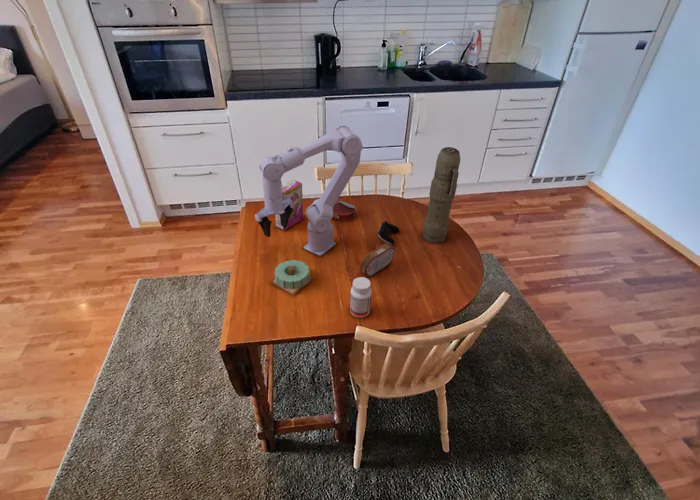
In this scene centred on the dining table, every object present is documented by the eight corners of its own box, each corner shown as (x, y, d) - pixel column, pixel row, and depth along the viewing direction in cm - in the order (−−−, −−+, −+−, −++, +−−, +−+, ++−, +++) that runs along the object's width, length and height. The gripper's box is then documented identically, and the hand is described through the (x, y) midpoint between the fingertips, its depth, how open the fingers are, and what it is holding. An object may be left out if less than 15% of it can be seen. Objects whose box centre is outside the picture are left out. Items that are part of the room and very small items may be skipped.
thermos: (434, 226, 157) (450, 141, 137) (452, 242, 149) (472, 154, 128) (415, 231, 154) (429, 145, 133) (433, 247, 146) (450, 158, 125)
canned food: (332, 221, 167) (329, 197, 165) (355, 218, 167) (352, 194, 166) (332, 223, 156) (329, 198, 154) (357, 220, 156) (354, 194, 155)
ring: (291, 263, 134) (290, 256, 132) (316, 275, 129) (315, 268, 127) (268, 279, 127) (267, 272, 125) (294, 293, 122) (293, 286, 120)
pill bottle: (359, 300, 122) (360, 272, 115) (374, 311, 119) (377, 282, 112) (345, 311, 118) (346, 282, 111) (360, 321, 115) (362, 293, 108)
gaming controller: (392, 234, 156) (380, 221, 154) (400, 229, 153) (389, 216, 151) (386, 249, 147) (374, 236, 145) (395, 244, 145) (383, 230, 143)
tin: (388, 258, 140) (390, 238, 135) (395, 262, 138) (397, 242, 133) (358, 277, 131) (359, 256, 126) (365, 281, 129) (367, 261, 124)
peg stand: (291, 269, 133) (290, 255, 130) (311, 280, 129) (311, 265, 126) (272, 283, 127) (270, 269, 123) (293, 295, 123) (292, 280, 119)
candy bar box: (284, 231, 151) (281, 193, 142) (275, 227, 154) (271, 189, 144) (304, 219, 159) (302, 182, 149) (294, 215, 161) (292, 178, 151)
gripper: (264, 207, 118) (267, 244, 126) (298, 191, 128) (299, 226, 136) (248, 200, 122) (253, 236, 130) (283, 184, 131) (285, 219, 139)
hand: (275, 231), depth 133 cm, fingers open, 7 cm apart
